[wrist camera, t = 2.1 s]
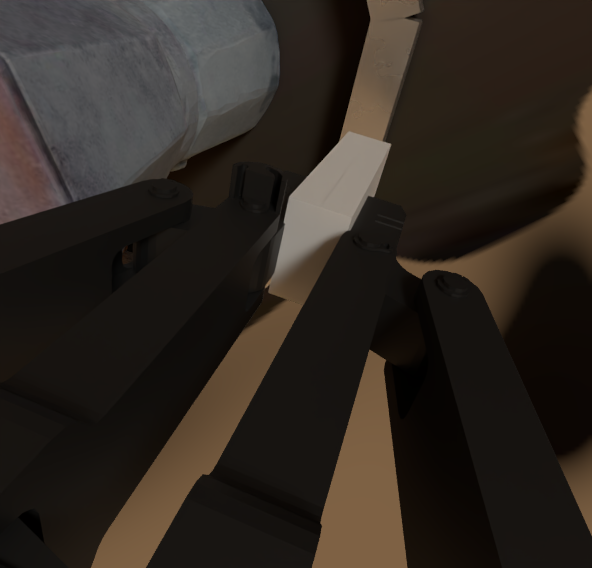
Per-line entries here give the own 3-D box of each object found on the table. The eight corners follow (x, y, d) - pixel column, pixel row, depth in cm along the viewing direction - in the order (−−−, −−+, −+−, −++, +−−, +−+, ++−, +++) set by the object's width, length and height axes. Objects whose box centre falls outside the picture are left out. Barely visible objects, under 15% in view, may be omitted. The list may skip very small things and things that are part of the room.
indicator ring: (-388, -535, 20) (-608, -671, 16) (561, -417, 14) (597, -577, 10) (-141, 174, 38) (-213, 196, 34) (320, 345, 33) (299, 396, 29)
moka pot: (229, 211, 30) (-58, 475, 14) (51, -13, 26) (-650, -19, 10) (351, 121, 25) (125, 370, 9) (152, -174, 21) (-952, -744, 5)
